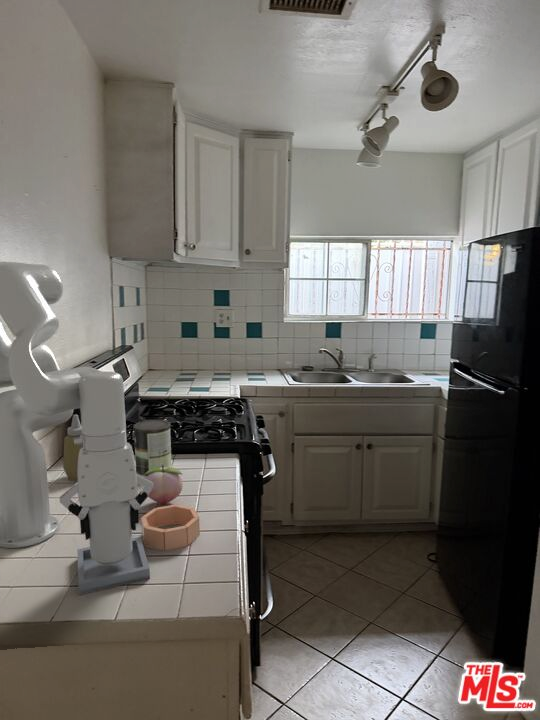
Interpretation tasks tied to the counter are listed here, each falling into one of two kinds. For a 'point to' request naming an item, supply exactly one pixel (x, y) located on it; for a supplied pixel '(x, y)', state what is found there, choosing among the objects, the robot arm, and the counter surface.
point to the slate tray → (111, 569)
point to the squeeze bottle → (72, 449)
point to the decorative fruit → (164, 484)
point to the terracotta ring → (172, 536)
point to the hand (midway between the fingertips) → (110, 531)
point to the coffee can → (152, 445)
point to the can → (110, 532)
